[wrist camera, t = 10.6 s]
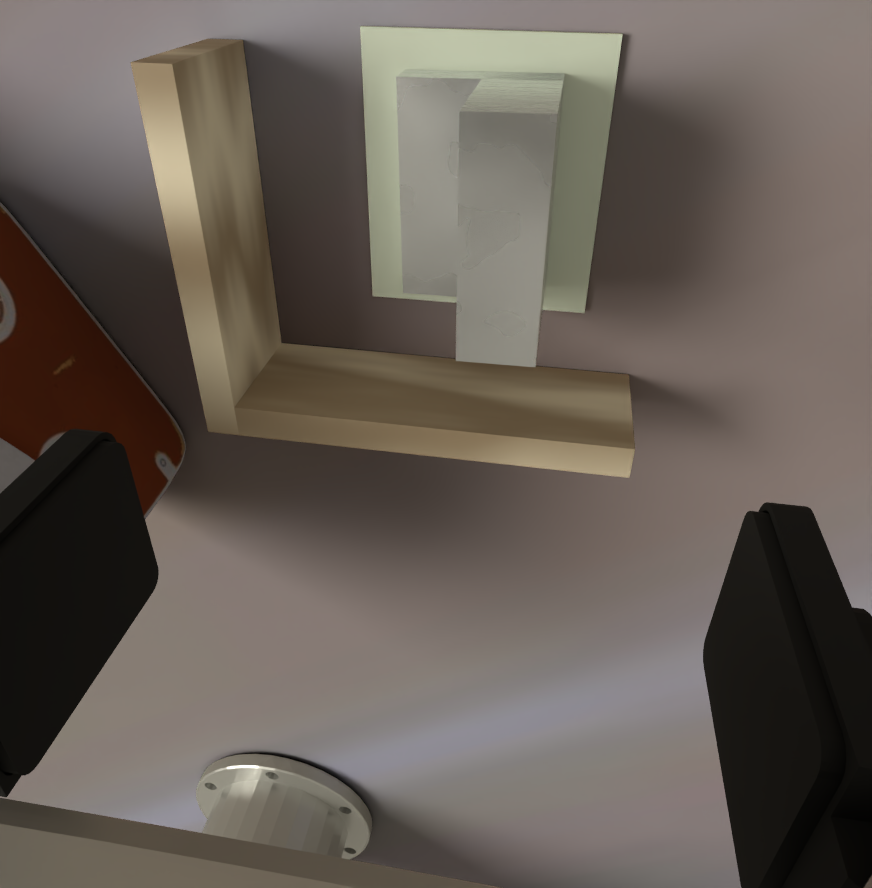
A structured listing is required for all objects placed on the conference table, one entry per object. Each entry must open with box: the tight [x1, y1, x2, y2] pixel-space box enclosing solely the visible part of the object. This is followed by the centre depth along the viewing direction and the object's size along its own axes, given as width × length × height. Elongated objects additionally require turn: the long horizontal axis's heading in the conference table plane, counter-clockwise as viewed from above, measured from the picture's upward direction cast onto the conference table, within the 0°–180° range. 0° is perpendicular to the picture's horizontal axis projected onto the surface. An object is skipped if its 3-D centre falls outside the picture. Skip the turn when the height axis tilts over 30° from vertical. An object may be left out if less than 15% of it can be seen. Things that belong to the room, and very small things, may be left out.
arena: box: [131, 39, 635, 478], centre depth 24 cm, size 12×15×5 cm
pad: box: [360, 26, 623, 313], centre depth 25 cm, size 9×8×1 cm
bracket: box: [396, 69, 565, 367], centre depth 23 cm, size 5×7×6 cm
